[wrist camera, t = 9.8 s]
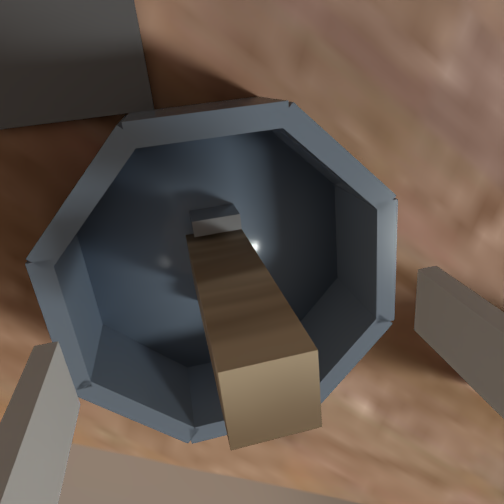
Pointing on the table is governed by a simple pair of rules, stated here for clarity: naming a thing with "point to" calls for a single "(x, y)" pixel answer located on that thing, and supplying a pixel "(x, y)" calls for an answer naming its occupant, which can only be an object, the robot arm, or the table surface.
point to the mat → (70, 61)
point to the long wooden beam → (253, 343)
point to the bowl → (200, 224)
